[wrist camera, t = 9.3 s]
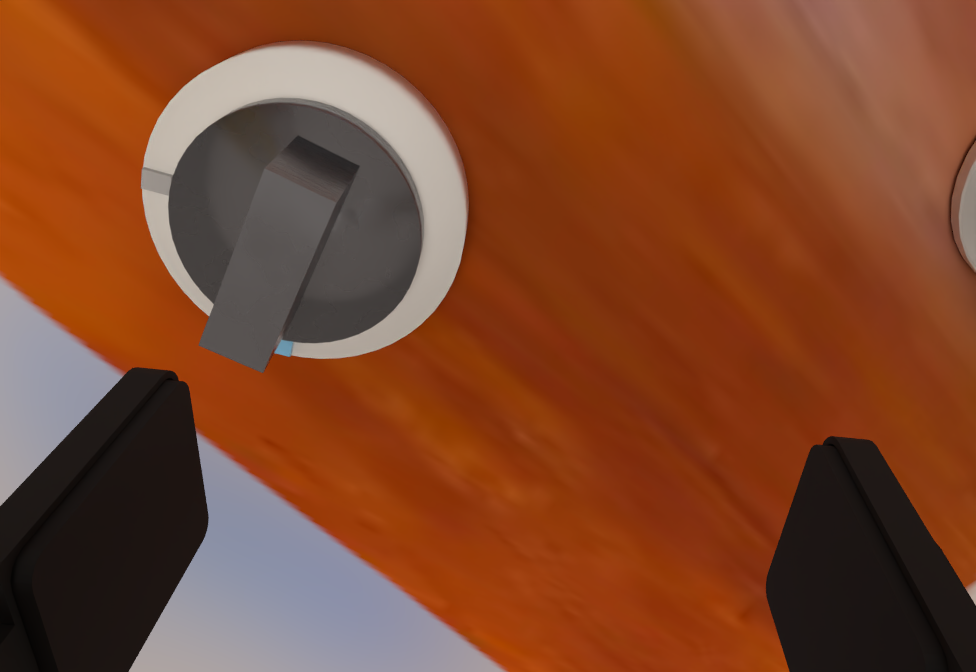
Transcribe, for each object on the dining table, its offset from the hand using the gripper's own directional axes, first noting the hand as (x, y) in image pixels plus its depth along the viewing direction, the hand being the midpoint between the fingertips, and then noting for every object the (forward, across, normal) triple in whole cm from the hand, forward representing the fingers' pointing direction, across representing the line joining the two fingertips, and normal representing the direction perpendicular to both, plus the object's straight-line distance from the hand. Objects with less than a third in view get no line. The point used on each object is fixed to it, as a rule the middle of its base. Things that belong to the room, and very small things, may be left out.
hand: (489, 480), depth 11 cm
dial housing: (+29, +11, +6) cm, 31 cm away
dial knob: (+26, +11, +6) cm, 28 cm away
